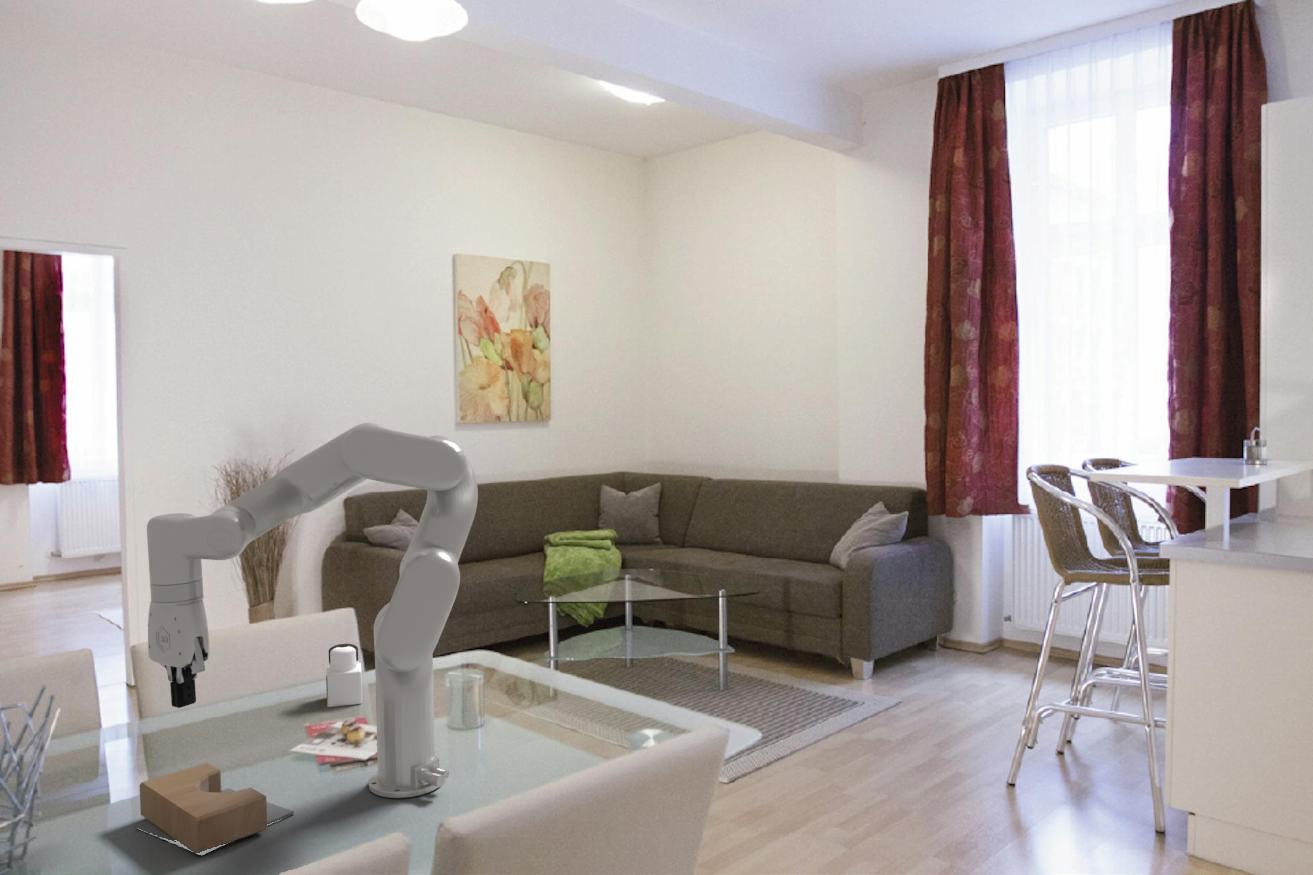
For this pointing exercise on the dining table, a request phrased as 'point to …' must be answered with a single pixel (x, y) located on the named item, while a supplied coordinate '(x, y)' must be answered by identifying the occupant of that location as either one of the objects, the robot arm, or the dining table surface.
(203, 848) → the decorative block
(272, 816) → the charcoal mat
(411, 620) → the robot arm
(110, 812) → the dining table surface
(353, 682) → the medicine bottle
